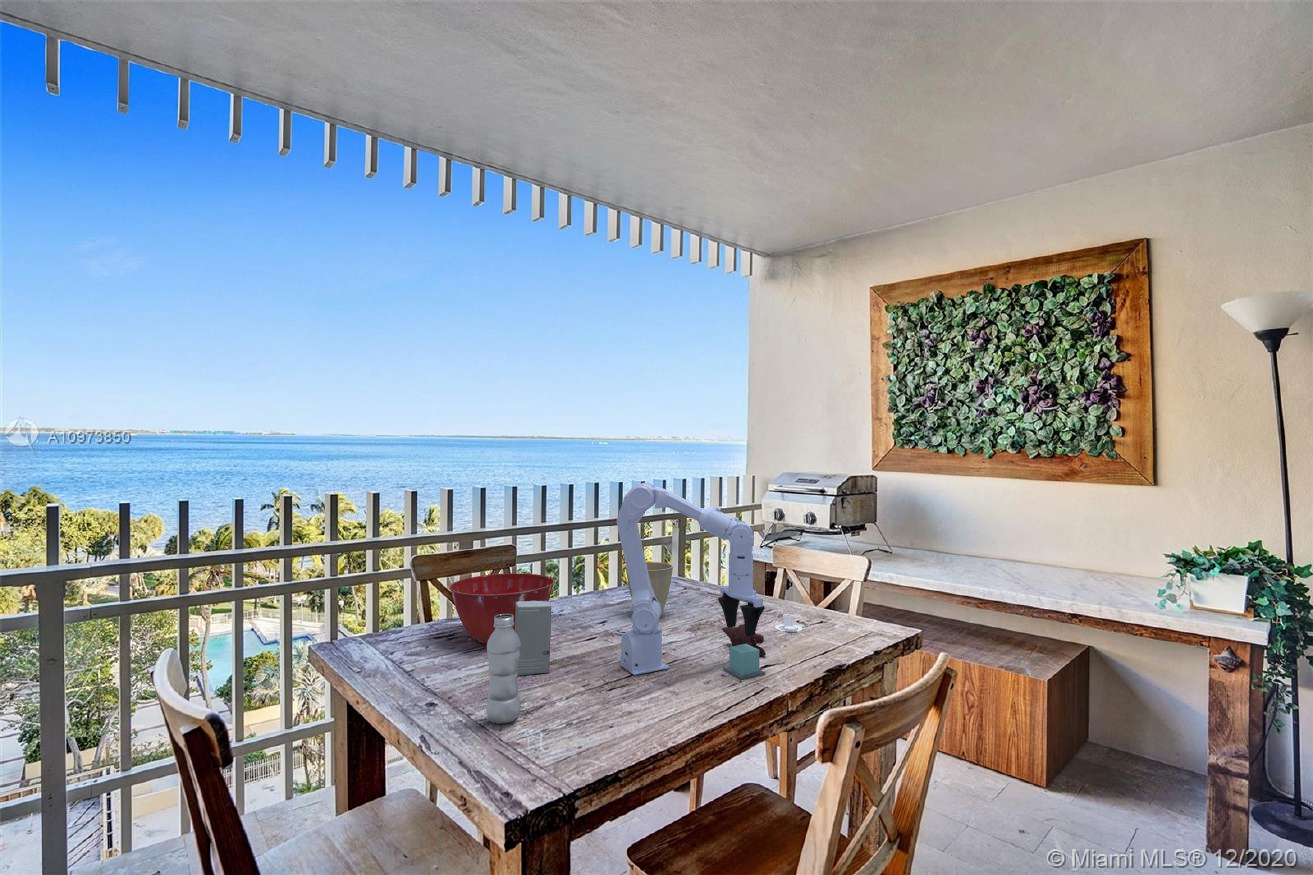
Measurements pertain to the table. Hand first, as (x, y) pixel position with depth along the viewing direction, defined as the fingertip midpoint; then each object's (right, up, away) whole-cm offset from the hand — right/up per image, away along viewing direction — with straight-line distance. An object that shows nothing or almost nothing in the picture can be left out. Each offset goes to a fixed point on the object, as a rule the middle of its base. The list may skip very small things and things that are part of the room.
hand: (740, 631), depth 145 cm
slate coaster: (+1, -9, -1) cm, 9 cm away
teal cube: (+1, -9, -1) cm, 9 cm away
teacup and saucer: (+16, -11, +33) cm, 39 cm away
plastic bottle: (-50, -9, -27) cm, 57 cm away
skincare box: (-49, -10, 0) cm, 50 cm away
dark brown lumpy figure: (+3, -10, +15) cm, 18 cm away
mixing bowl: (-63, -10, +25) cm, 68 cm away
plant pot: (-22, -11, +47) cm, 53 cm away
